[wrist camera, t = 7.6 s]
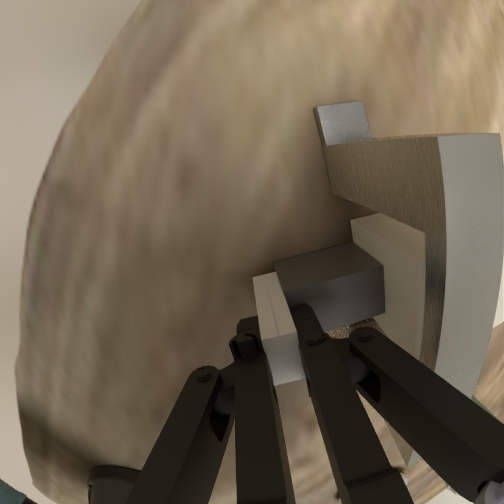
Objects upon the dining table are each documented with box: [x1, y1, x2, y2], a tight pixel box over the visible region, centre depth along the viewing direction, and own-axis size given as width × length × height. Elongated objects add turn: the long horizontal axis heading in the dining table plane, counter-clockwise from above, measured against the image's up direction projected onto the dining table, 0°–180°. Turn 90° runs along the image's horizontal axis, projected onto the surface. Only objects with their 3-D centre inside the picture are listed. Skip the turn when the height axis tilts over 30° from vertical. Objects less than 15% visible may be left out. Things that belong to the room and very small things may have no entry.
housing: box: [314, 101, 504, 467], centre depth 14 cm, size 3×21×11 cm, turn 13°
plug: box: [273, 213, 504, 360], centre depth 15 cm, size 16×6×8 cm, turn 103°
